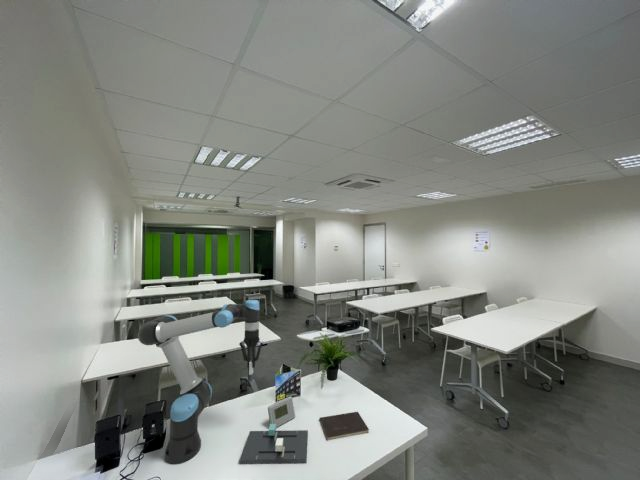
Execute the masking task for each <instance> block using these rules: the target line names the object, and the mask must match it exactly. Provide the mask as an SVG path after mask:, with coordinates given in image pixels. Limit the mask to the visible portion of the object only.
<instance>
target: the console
mask: <svg viewBox="0 0 640 480" xmlns="http://www.w3.org/2000/svg"><path fill="white" fill-rule="evenodd" d="M268 431H269V430H250V431H249V433H248V436H247V437H246V438H247V439H246V441H245V444H244V447H243V449H242V452H241V455H240V458H239V459H238V460H239V463H238V464H239V465H277V464H280V465H284V464H287V465H289V464H296V465H297V464H307V462H308V461H307V459H308V441H309V440H308V439H309V437H308V436H309V431H308V430H306V429H304V430H303V429H302V430H300V429H299V430H276V431H275V435H273V436H271V435H268ZM277 438H283V448H282V451H281V452H278V451H275V445H276V440H277Z"/></svg>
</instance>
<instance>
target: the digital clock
mask: <svg viewBox="0 0 640 480" xmlns="http://www.w3.org/2000/svg"><path fill="white" fill-rule="evenodd" d="M267 411H268V412H267V415H268V421H269V425H270V424H276V428H279V427H280V426H283V425H284V424H286V423H288V422H289V421H291V420H293V419H294V418H295V417H296V413H295V407H294V401H293V397H292V396H287V397H284V398H283V399H280V400H277V401H276V402H274V403H273V404H271V405H268V406H267Z"/></svg>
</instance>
